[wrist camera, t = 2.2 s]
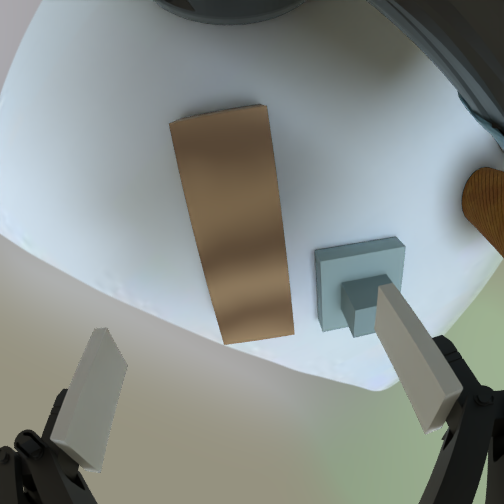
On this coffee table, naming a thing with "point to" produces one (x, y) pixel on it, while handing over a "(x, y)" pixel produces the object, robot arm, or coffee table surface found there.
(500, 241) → the disposable coffee cup
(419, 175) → the coffee table surface
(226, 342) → the batten
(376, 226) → the coffee table surface
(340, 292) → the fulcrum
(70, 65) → the coffee table surface
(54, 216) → the coffee table surface
